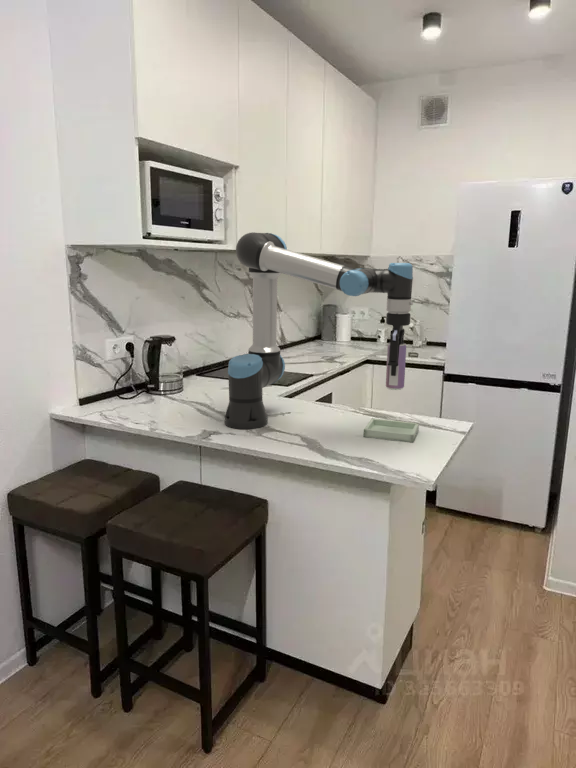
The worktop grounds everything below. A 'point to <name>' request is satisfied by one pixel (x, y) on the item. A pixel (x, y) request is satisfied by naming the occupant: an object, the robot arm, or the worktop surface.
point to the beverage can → (401, 368)
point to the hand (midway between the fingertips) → (394, 382)
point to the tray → (391, 430)
